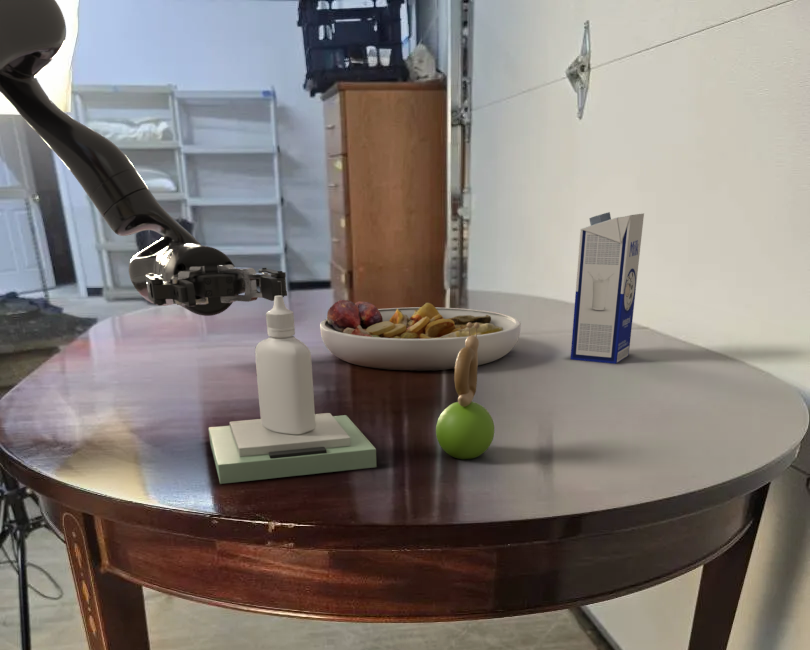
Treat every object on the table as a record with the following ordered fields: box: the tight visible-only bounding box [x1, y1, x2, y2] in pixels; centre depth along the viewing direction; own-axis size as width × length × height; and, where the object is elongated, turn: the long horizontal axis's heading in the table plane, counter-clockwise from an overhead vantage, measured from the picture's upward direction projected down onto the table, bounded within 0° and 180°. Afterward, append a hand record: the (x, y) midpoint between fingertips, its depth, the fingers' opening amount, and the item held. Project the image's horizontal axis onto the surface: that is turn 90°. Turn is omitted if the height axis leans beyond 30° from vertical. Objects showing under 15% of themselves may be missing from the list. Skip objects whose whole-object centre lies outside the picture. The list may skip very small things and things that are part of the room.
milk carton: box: [570, 211, 645, 365], centre depth 110 cm, size 7×7×20 cm
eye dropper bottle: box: [254, 296, 316, 435], centre depth 70 cm, size 4×6×12 cm
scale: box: [208, 412, 377, 485], centre depth 73 cm, size 14×12×3 cm
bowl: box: [319, 299, 522, 372], centre depth 117 cm, size 30×30×8 cm
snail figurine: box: [435, 322, 495, 460], centre depth 71 cm, size 5×6×12 cm
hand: (234, 292), depth 77 cm, fingers open, 8 cm apart
